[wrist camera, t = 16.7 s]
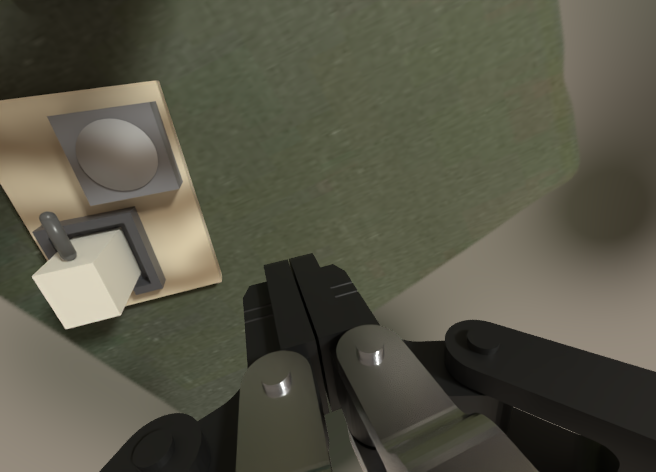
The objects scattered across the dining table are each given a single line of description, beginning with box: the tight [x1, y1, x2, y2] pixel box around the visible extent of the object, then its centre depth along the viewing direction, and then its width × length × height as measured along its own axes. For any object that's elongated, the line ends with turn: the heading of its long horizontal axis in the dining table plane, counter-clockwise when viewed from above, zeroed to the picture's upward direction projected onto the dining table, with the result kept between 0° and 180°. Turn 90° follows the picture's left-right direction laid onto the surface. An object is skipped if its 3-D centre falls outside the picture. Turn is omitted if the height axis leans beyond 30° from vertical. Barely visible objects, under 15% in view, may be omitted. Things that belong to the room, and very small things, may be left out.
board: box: [0, 81, 222, 306], centre depth 29 cm, size 20×14×4 cm
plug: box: [32, 211, 141, 329], centre depth 27 cm, size 10×4×7 cm, turn 8°
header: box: [32, 206, 166, 295], centre depth 30 cm, size 8×8×2 cm
